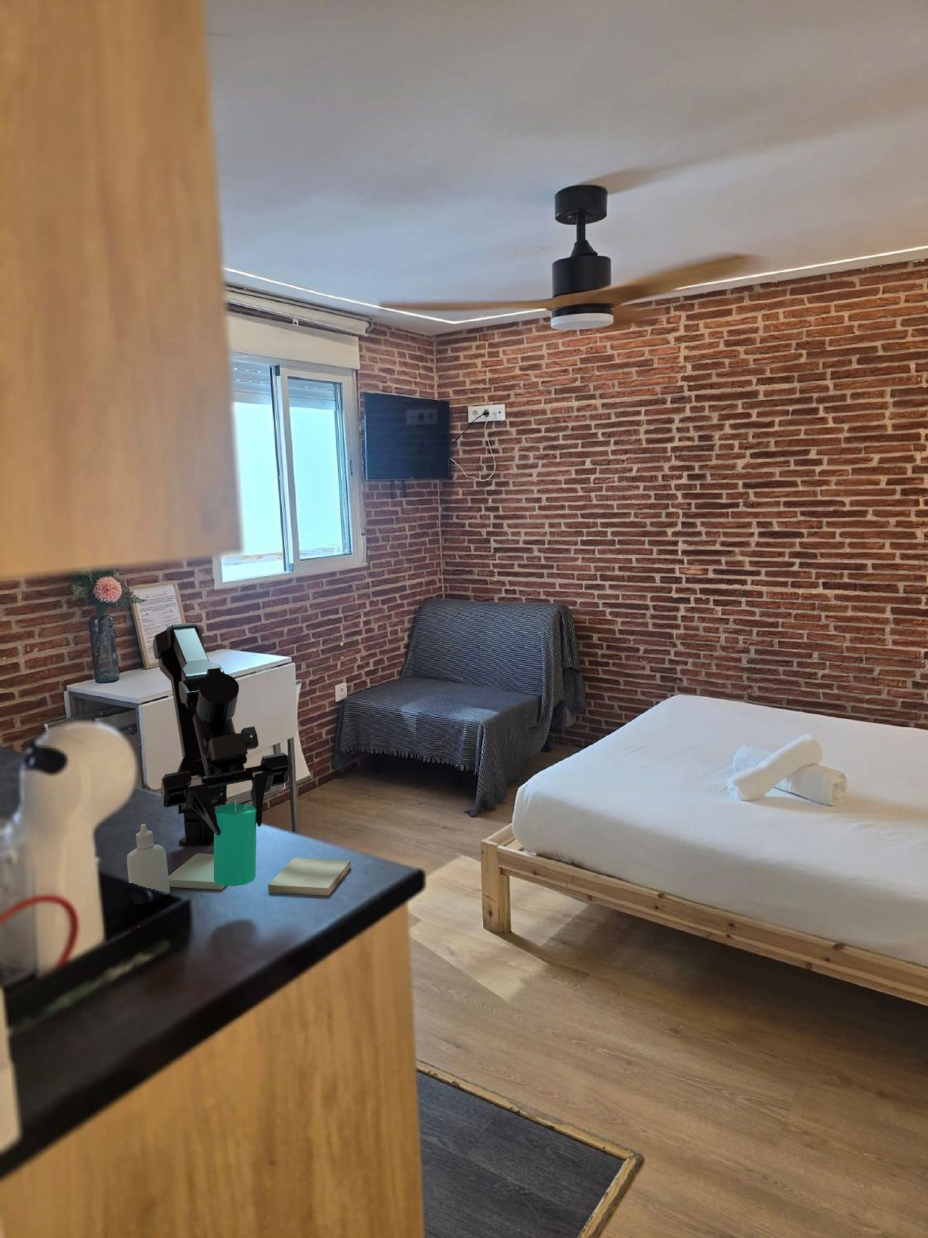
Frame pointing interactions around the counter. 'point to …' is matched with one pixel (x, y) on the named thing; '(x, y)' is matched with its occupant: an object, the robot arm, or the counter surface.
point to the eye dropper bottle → (148, 863)
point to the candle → (235, 845)
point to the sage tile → (195, 873)
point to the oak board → (310, 876)
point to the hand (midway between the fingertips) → (239, 830)
